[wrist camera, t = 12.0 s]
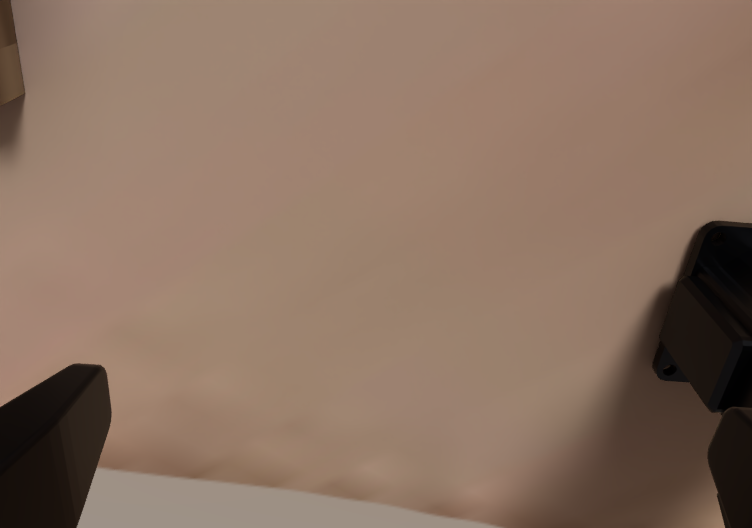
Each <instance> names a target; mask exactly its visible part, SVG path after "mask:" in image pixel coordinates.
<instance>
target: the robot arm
mask: <svg viewBox="0 0 752 528" xmlns="http://www.w3.org/2000/svg"><path fill="white" fill-rule="evenodd" d="M719 232H721V234H720V236H719V237H718V238H717V239H716V240H713V241H711V238H712V236H713V235H714V234H716V233H719ZM659 338H660V340H661V341H660V344H659V347H658V349H657V352H656V355H655V358H654V361H653V365H652V367H653V370H654V372H655V373H656V375H657V376H658V378H660V379H661V380H665V381H677V382H690V384H691V385H692V387H693V388H694V389H695V391H696V392H697V394H698V395H699V397H700V398H701V400H702V401H703V403H704V404H705V405H706V407H707V408H708V409H709V411H711V412H712V413H720V414H721V415H722V418H721V421H720V423H719V425H718V427H717V430H716V432H715V434H714V436H713V439H712V441H711V443H710V446H709V449H708V463H709V467H710V470H711V473H712V476H713V479H714V482H715V485H716V488H717V491H718V494H717V497H718V501H719V505H720V509H721V513H722V517H723V521H724V525H725V528H752V223H740V222H728V221H712V222H709V223H707V224H706V225H705V226H703V227H702V228H701V230H700V232H699V234H698V237H697V240H696V243H695V245H694V248H693V251H692V254H691V257H690V259H689V262H688V265H687V268H686V271H685V273H684V276H683V277H682V278H681V279H680V280H679V282H678V284H677V287H676V290H675V292H674V295H673V298H672V301H671V304H670V307H669V309H668V312H667V315H666V318H665V321H664V324H663V326H662V329H661V332H660V335H659ZM667 365H671V367H669V368H667V369H664V368H665V367H666V366H667ZM111 413H112V412H111V403H110V395H109V387H108V379H107V373H106V370H105V368H104V367H102V366H101V365H94V364H80V363H77V364H72V365H70V366H68V367H66V368H65V369H63V370H61V371H60V372H58V373H56V374H55V375H53V376H51V377H50V378H48V379H46V380H45V381H43V382H41V383H40V384H38V385H36V386H35V387H33V388H31V389H30V390H28V391H26V392H24V393H23V394H21V395H19V396H18V397H16V398H14V399H13V400H11V401H9V402H8V403H6V404H4V405H3V406H1V407H0V528H76V527H77V525H78V522H79V519H80V516H81V513H82V510H83V507H84V505H85V501H86V498H87V495H88V492H89V489H90V486H91V483H92V479H93V477H94V473H95V471H96V468H97V465H98V462H99V458H100V455H101V452H102V449H103V446H104V443H105V440H106V437H107V434H108V431H109V427H110V423H111Z"/></svg>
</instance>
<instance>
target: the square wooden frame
mask: <svg viewBox="0 0 752 528" xmlns="http://www.w3.org/2000/svg"><path fill="white" fill-rule="evenodd" d="M23 94H25V91H24V85H23V79H22V72H21V66H20V60H19V54H18V47H17V41H16V35H15V29H14V23H13V16H12V10H11V4H10V0H0V106H1V105H3V104H5V103H7V102H9V101H11V100H13V99H15V98H17V97H19V96H21V95H23Z"/></svg>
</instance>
